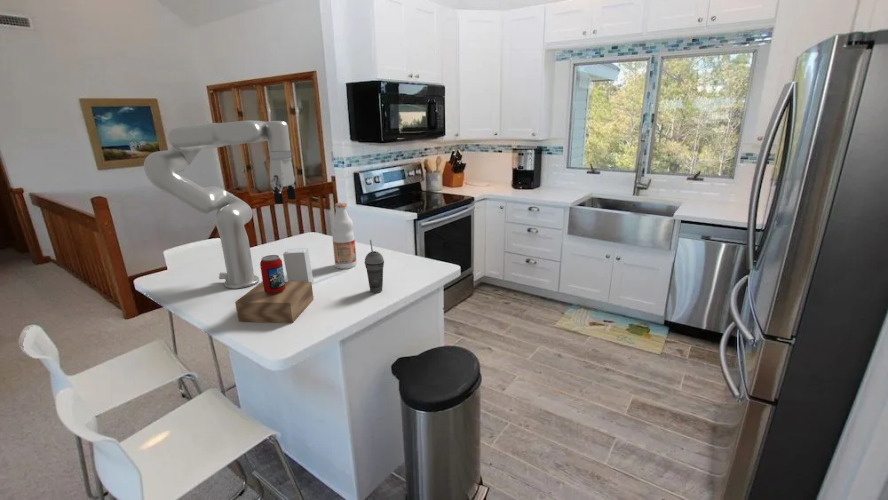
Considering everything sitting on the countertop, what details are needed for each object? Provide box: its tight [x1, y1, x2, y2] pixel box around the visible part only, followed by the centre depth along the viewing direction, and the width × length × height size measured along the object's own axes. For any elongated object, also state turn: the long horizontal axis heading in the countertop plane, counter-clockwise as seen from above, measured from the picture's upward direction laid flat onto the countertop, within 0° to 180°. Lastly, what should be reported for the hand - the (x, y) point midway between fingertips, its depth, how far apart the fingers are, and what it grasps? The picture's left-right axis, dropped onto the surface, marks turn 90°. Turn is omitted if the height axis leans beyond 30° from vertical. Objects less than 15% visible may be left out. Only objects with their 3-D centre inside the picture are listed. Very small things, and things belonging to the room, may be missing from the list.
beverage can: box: [259, 254, 286, 294], centre depth 137 cm, size 7×7×12 cm
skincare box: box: [282, 247, 314, 285], centre depth 159 cm, size 8×6×15 cm
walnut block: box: [235, 280, 315, 324], centre depth 140 cm, size 18×18×7 cm
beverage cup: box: [364, 239, 385, 294], centre depth 153 cm, size 7×7×20 cm
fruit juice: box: [331, 202, 357, 270], centre depth 180 cm, size 9×9×28 cm
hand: (286, 201), depth 157 cm, fingers open, 9 cm apart
